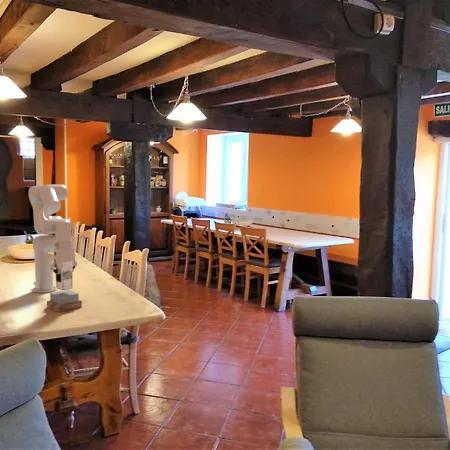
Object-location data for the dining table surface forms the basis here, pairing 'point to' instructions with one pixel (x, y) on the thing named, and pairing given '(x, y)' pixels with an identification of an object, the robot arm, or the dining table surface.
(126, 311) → the dining table surface
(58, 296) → the slate top block
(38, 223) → the robot arm
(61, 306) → the walnut base block
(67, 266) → the syrup box
